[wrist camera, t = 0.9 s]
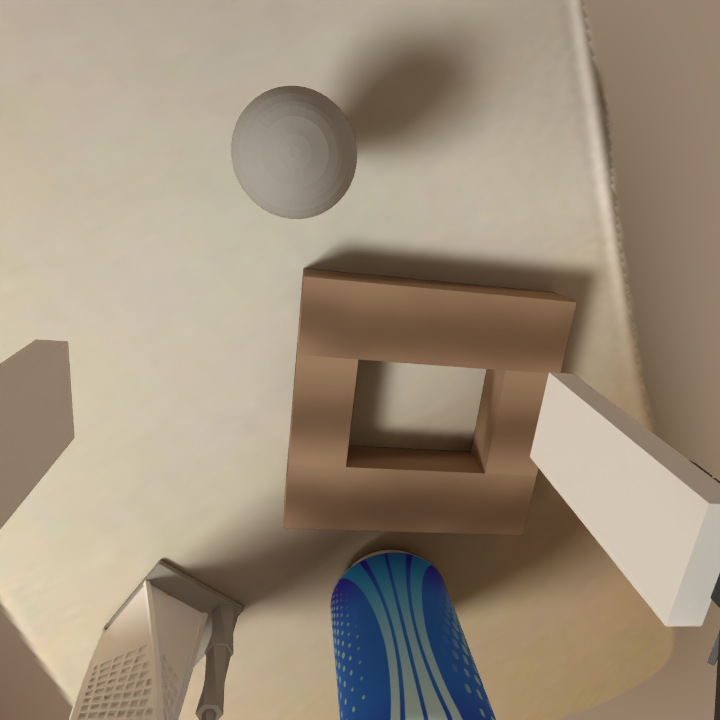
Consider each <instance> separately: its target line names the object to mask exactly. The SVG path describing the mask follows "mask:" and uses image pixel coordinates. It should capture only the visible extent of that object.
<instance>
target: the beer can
mask: <svg viewBox="0 0 720 720" xmlns="http://www.w3.org/2000/svg"><path fill="white" fill-rule="evenodd" d="M331 618H332V630H333V641H334V653H335V664H336V676H337V687H338V699H339V711H340V720H496V719H495V716H494V713H493V711H492V708H491V705H490V703H489V700H488V697H487V695H486V692H485V689H484V687H483V684H482V681H481V679H480V676H479V673H478V671H477V668H476V665H475V663H474V660H473V657H472V655H471V652H470V649H469V647H468V644H467V641H466V639H465V636H464V633H463V631H462V628H461V625H460V623H459V620H458V617H457V615H456V612H455V609H454V607H453V604H452V601H451V599H450V596H449V593H448V591H447V588H446V585H445V583H444V580H443V578H442V576H441V575H440V573H439V572H438V570H437V569H436V568H435V567H434V566H433V565H432V564H431V563H429V562H428V561H427V560H425V559H423V558H421V557H419V556H416V555H414V554H410V553H408V552H405V551H400V550H381V551H377V552H373V553H370V554H368V555H366V556H364V557H362V558H361V559H359V560H358V561H356V562H355V563H354V564H353V565H352V566H351V567H350V568H349V569H348V570H347V571H346V572H345V573H344V574H343V575H342V576H341V578H340V579H339V581H338V582H337V584H336V586H335V588H334V590H333V594H332V598H331Z"/></svg>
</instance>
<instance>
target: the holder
mask: <svg viewBox="0 0 720 720" xmlns="http://www.w3.org/2000/svg"><path fill="white" fill-rule="evenodd" d="M576 304H577V302H575V301H573V300H570V299H568V298H566V297H563V296H561V295H559V294H556V293H553V292H543V291H532V290H522V289H512V288H501V287H491V286H480V285H470V284H460V283H449V282H439V281H428V280H418V279H407V278H397V277H387V276H376V275H366V274H355V273H345V272H335V271H324V270H314V269H303V281H302V293H301V305H300V317H299V329H298V342H297V354H296V366H295V378H294V390H293V402H292V414H291V426H290V438H289V451H288V463H287V475H286V487H285V499H284V528H292V529H326V530H360V531H393V532H427V533H461V534H495V535H523V533H524V528H525V524H526V520H527V515H528V511H529V507H530V502H531V498H532V494H533V490H534V485H535V481H536V477H537V472H538V466H537V465H536V464H535V463H534V461H533V460H532V459H531V458H530V454H531V449H532V445H533V440H534V436H535V432H536V427H537V423H538V419H539V414H540V410H541V405H542V401H543V397H544V392H545V388H546V383H547V379H548V375H549V372H551V373H561V368H562V364H563V360H564V356H565V351H566V347H567V343H568V338H569V334H570V330H571V325H572V321H573V317H574V312H575V308H576ZM358 359H359V360H373V361H386V362H400V363H413V364H427V365H440V366H454V367H467V368H481V369H487V370H486V375H485V381H484V386H483V391H482V396H481V402H480V407H479V412H478V417H477V423H476V428H475V433H474V439H473V444H472V449H471V452H463V451H443V450H424V449H404V448H385V447H366V446H348V444H349V436H350V427H351V419H352V410H353V402H354V393H355V385H356V376H357V368H358Z"/></svg>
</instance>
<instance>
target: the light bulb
mask: <svg viewBox="0 0 720 720" xmlns="http://www.w3.org/2000/svg"><path fill="white" fill-rule="evenodd" d="M231 156H232V163H233V167H234V171H235V174H236V177H237V179H238V181H239V183H240V185H241V187H242V188H243V190H244V191H245V192H246V194H247V195H248V196H249V197H250V198H251V199H252V200H253V201H254V202H255V203H256V204H257V205H258V206H260V207H261V208H263V209H264V210H266V211H268V212H269V213H272V214H274V215H277V216H280V217H284V218H290V219H304V218H310V217H313V216H317V215H319V214H321V213H323V212H325V211H327V210H329V209H330V208H331V207H333V206H334V205H335V204H336V203H337V202H338V201H339V200H340V199H341V198H342V197H343V196H344V194H345V193H346V191H347V190H348V188H349V186H350V184H351V182H352V179H353V177H354V173H355V169H356V163H357V147H356V141H355V137H354V133H353V131H352V128H351V126H350V124H349V121H348V120H347V118H346V116H345V115H344V114H343V112H342V111H341V110H340V108H339V107H338V106H337V105H336V104H335V103H334V102H333V101H331V100H330V99H329V98H327V97H326V96H324V95H323V94H321V93H319V92H317V91H315V90H312V89H309V88H305V87H300V86H283V87H278V88H274V89H271V90H269V91H267V92H265V93H263V94H261V95H259V96H258V97H257V98H255V99H254V100H253V101H252V102H251V103H250V104H249V105H248V106H247V107H246V108H245V109H244V111H243V112H242V114H241V115H240V117H239V119H238V121H237V123H236V126H235V129H234V132H233V137H232V143H231Z"/></svg>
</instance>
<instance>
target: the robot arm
mask: <svg viewBox="0 0 720 720" xmlns="http://www.w3.org/2000/svg"><path fill="white" fill-rule="evenodd" d="M73 439H74V424H73V409H72V394H71V379H70V364H69V348H68V342H67V341H52V340H35V341H33V342H32V343H30V344H29V345H27V346H26V347H24V348H23V349H21V350H20V351H18V352H17V353H15V354H14V355H12V356H11V357H10V358H8V359H7V360H5V361H4V362H2V363H1V364H0V529H1V528H2V527H3V525H4V524H5V523H6V522H7V520H8V519H9V518H10V517H11V516H12V514H13V513H14V512H15V511H16V509H17V508H18V507H19V506H20V504H21V503H22V502H23V501H24V499H25V498H26V497H27V496H28V495H29V493H30V492H31V491H32V490H33V488H34V487H35V486H36V485H37V483H38V482H39V481H40V480H41V478H42V477H43V476H44V475H45V474H46V472H47V471H48V470H49V469H50V467H51V466H52V465H53V464H54V462H55V461H56V460H57V459H58V457H59V456H60V455H61V454H62V453H63V451H64V450H65V449H66V448H67V446H68V445H69V444H70V443H71V441H72V440H73ZM530 458H531V459H532V460H533V461H534V463H535V464H536V465H537V466H538V468H539V469H540V470H541V471H542V473H543V474H544V475H545V476H546V478H547V479H548V480H549V481H550V483H551V484H552V485H553V486H554V488H555V489H556V490H557V491H558V493H559V494H560V495H561V496H562V498H563V499H564V500H565V501H566V503H567V504H568V505H569V506H570V508H571V509H572V510H573V511H574V513H575V514H576V515H577V516H578V518H579V519H580V520H581V521H582V523H583V524H584V525H585V526H586V528H587V529H588V530H589V531H590V533H591V534H592V535H593V536H594V538H595V539H596V540H597V541H598V543H599V544H600V545H601V546H602V547H603V549H604V550H605V551H606V552H607V554H608V555H609V556H610V557H611V559H612V560H613V561H614V562H615V564H616V565H617V566H618V567H619V569H620V570H621V571H622V572H623V574H624V575H625V576H626V577H627V579H628V580H629V581H630V582H631V584H632V585H633V586H634V587H635V589H636V590H637V591H638V592H639V594H640V595H641V596H642V597H643V599H644V600H645V601H646V602H647V604H648V605H649V606H650V607H651V609H652V610H653V611H654V612H655V614H656V615H657V616H658V617H659V619H660V620H661V621H662V622H663V624H664V625H665V626H702V624H703V621H704V618H705V616H706V613H707V610H708V608H709V605H710V603H711V600H713V601H714V602H715V603H716V604H717V605H718V607H720V481H718V480H717V479H716V478H712V475H710V474H709V473H708V472H706V471H705V470H704V469H702V468H701V467H700V466H698V465H697V464H696V463H694V462H692V461H690V460H688V459H686V458H685V457H684V456H682V455H681V454H680V453H678V452H677V451H675V450H674V449H673V448H672V447H670V446H669V445H668V444H666V443H665V442H664V441H662V440H661V439H659V438H658V437H657V436H656V435H654V434H653V433H652V432H650V431H649V430H648V429H646V428H645V427H644V426H642V425H641V424H640V423H638V422H637V421H636V420H634V419H633V418H632V417H630V416H629V415H628V414H626V413H625V412H624V411H622V410H621V409H620V408H618V407H617V406H616V405H614V404H613V403H612V402H610V401H609V400H608V399H606V398H605V397H604V396H602V395H601V394H600V393H598V392H597V391H596V390H594V389H593V388H592V387H590V386H589V385H588V384H586V383H585V382H584V381H582V380H581V379H580V378H578V377H577V376H576V375H574V374H566V373H551V372H549V375H548V379H547V383H546V388H545V392H544V397H543V401H542V405H541V410H540V414H539V419H538V423H537V427H536V432H535V436H534V440H533V445H532V449H531V454H530ZM717 660H718V666H717V682H716V699H715V716H714V720H720V631H719V634H718V636H717V639H716V642H715V644H714V647H713V649H712V652H711V654H710V657H709V659H708V662H707V663H709V664H711V665H714V664H715V663H716V661H717Z"/></svg>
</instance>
